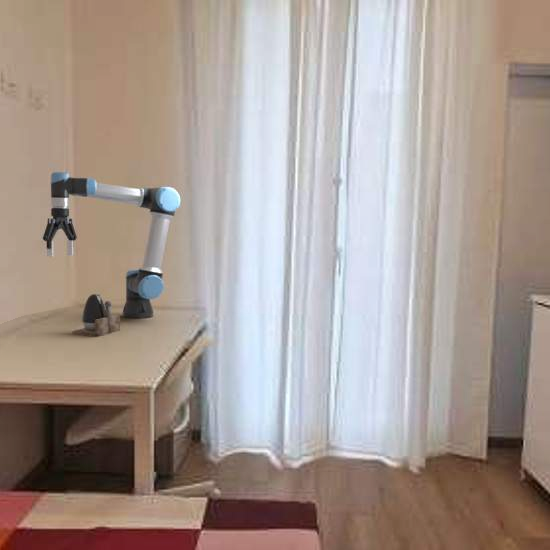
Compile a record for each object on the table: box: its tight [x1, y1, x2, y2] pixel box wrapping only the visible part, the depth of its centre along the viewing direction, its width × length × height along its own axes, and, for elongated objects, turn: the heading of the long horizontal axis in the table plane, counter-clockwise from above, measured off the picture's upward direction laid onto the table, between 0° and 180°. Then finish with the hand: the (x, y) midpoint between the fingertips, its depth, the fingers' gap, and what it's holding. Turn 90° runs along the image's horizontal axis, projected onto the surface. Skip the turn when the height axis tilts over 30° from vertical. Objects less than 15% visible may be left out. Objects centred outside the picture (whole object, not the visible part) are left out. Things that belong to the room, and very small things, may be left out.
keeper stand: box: [71, 300, 121, 337], centre depth 277 cm, size 16×14×14 cm
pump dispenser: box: [81, 293, 106, 330], centre depth 277 cm, size 10×10×15 cm
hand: (60, 255), depth 288 cm, fingers open, 13 cm apart
